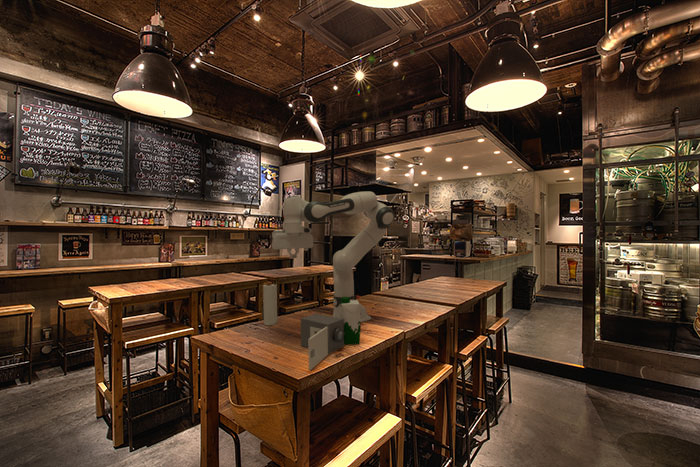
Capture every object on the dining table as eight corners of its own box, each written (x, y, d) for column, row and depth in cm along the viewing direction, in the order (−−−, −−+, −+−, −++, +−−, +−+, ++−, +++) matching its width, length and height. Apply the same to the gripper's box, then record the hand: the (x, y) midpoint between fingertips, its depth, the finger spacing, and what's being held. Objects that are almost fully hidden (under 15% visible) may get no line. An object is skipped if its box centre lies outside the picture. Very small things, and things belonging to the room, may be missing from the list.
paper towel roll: (263, 326, 166) (263, 286, 165) (263, 323, 171) (263, 284, 171) (277, 325, 167) (277, 285, 167) (277, 321, 173) (276, 283, 173)
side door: (311, 370, 111) (311, 339, 111) (308, 370, 111) (308, 338, 111) (330, 353, 126) (329, 326, 126) (327, 353, 126) (326, 325, 126)
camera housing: (300, 346, 136) (299, 318, 136) (316, 339, 144) (316, 313, 144) (331, 355, 125) (330, 325, 125) (347, 347, 133) (347, 319, 133)
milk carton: (340, 339, 144) (339, 295, 144) (359, 338, 145) (359, 295, 145) (341, 345, 135) (340, 299, 135) (361, 345, 136) (361, 299, 136)
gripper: (274, 229, 143) (274, 259, 143) (314, 229, 154) (315, 257, 154) (269, 229, 148) (270, 259, 148) (309, 229, 159) (309, 256, 159)
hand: (293, 258), depth 151 cm, fingers closed
